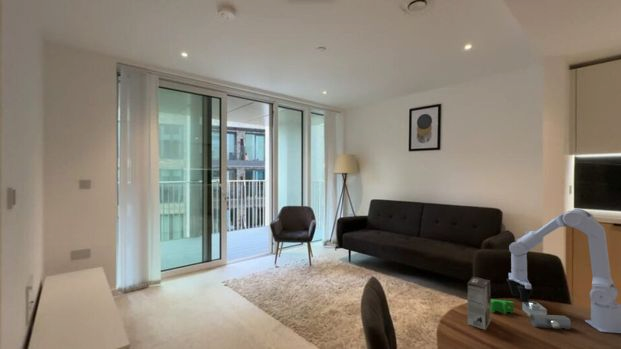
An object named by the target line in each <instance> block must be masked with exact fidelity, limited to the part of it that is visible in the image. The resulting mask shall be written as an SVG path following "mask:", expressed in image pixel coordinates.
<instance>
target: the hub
mask: <svg viewBox="0 0 621 349" xmlns="http://www.w3.org/2000/svg"><path fill="white" fill-rule="evenodd" d="M521 307H522V308H521V309H522V311H523V312H524V313H527V314H526V315H527V316H528V317H530V314H538V315H548V309H547V308H545V306H543V305H542V304H540V303H539V302H537V301H529V300H528V302H521Z"/></svg>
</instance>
